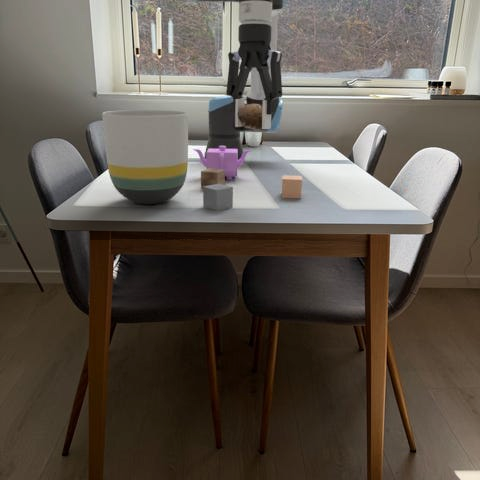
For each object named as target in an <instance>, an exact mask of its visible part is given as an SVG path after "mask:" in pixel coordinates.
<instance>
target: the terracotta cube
mask: <svg viewBox="0 0 480 480" xmlns="http://www.w3.org/2000/svg"><path fill="white" fill-rule="evenodd" d="M302 185H303V176H302V175H284V174H283V175H282V182H281V198H282V199H302Z"/></svg>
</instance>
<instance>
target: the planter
mask: <svg viewBox="0 0 480 480" xmlns="http://www.w3.org/2000/svg"><path fill="white" fill-rule="evenodd" d="M188 116H189V115H188V112H186V111H181V110H180V111H179V110H165V109H160V110H159V109H125V110H122V109H121V110H110V111H109V110H108V111H103V112H102V114H101V117H102V127H103V137H104V138H103V139H104V148H105V156H106V163H107V170H108V174H109V178H110V180H111V183H112V184H113V187H114V188H115V190H116V191H117V192H118V193H119V194H120V195H122V197H123V198H126V199H127V200H129V201H130V202H132V203H135V204H141V205H156V204H161V203H164V202H167V201H169V200H171V199H172V198H174V197H175V196H176V195H177V194H178V193H179V192H180V191H181V189H182V188H183V186H184V184H185V182H186V178H187V173H188V165H189V164H188V163H189V162H188V161H189V122H188V121H189V120H188V118H189V117H188Z"/></svg>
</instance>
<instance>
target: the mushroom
mask: <svg viewBox="0 0 480 480" xmlns="http://www.w3.org/2000/svg"><path fill="white" fill-rule="evenodd" d="M262 108H263V107H262V106H261V105H259V104H248V105H246V106H244V107H242V108H241V109H240V110H239V111H238V119H239V120H240V122H241V123H242V125H243V126H244V127H246V128H250V129H254V130H260V129H262Z"/></svg>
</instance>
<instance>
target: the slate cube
mask: <svg viewBox="0 0 480 480" xmlns="http://www.w3.org/2000/svg"><path fill="white" fill-rule="evenodd" d="M233 193H234V187H233V186H230V185H226V184H225V185H223V184H214V185H209V186H203V189H202V201H203V202H202V203H203V204H202V207H204V208H206V209H210V210H213V211H216V212H217V211H223V210H226V209H232V208H233V205H234V204H233V203H234V201H233V199H234V196H233V195H234V194H233Z"/></svg>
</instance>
